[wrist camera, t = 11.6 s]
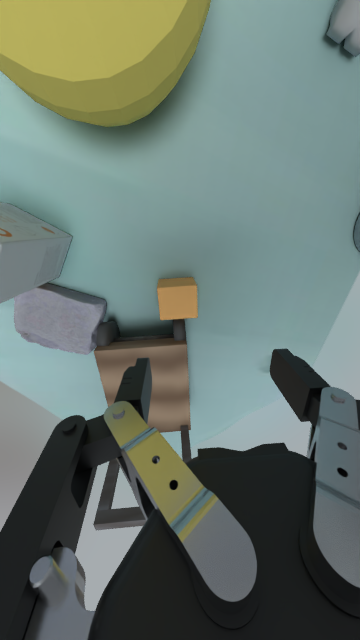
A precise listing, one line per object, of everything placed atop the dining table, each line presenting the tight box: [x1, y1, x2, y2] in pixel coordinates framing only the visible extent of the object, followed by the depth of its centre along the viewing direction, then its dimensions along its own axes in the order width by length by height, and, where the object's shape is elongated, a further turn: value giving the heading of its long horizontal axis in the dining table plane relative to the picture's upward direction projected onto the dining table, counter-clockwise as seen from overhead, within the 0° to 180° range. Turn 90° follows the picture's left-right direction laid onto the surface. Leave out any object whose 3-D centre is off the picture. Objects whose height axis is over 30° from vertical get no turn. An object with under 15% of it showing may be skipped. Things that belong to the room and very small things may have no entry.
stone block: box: [14, 283, 107, 355], centre depth 30 cm, size 12×5×10 cm
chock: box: [157, 277, 198, 320], centre depth 29 cm, size 5×4×5 cm
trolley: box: [94, 319, 191, 530], centre depth 28 cm, size 20×12×18 cm, turn 3°
